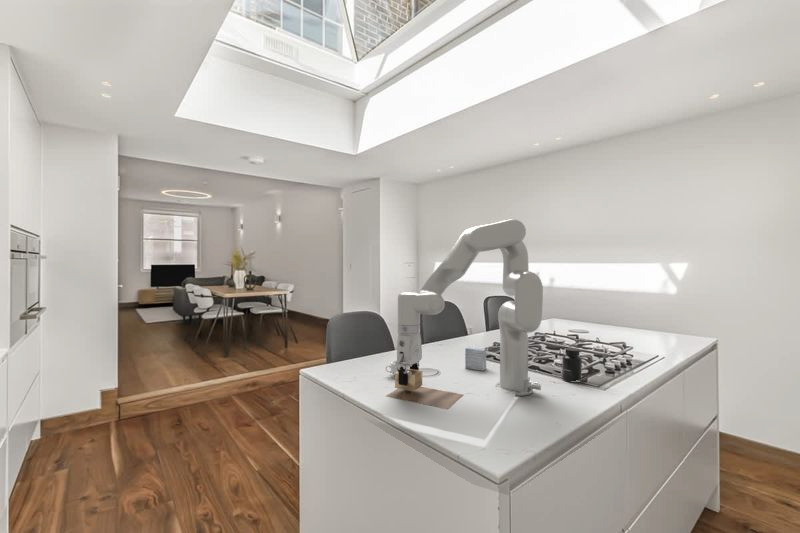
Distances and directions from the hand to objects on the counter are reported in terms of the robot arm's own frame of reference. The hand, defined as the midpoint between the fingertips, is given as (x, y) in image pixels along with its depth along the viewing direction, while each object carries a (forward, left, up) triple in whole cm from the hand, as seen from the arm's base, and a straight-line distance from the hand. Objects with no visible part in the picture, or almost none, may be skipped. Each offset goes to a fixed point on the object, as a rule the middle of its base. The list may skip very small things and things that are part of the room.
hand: (408, 381), depth 126 cm
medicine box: (-9, -43, -6) cm, 44 cm away
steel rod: (0, 0, -4) cm, 4 cm away
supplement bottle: (-46, -46, -6) cm, 66 cm away
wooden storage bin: (0, 0, -2) cm, 2 cm away
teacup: (+15, -18, -6) cm, 24 cm away
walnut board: (-6, 0, -5) cm, 8 cm away
